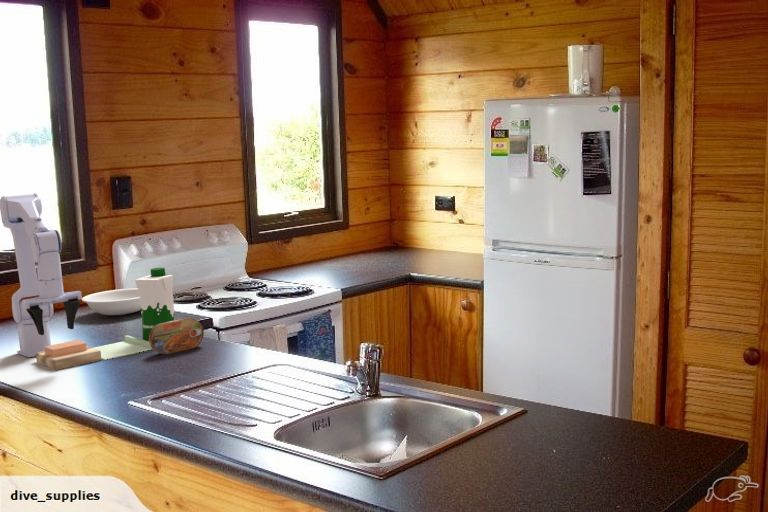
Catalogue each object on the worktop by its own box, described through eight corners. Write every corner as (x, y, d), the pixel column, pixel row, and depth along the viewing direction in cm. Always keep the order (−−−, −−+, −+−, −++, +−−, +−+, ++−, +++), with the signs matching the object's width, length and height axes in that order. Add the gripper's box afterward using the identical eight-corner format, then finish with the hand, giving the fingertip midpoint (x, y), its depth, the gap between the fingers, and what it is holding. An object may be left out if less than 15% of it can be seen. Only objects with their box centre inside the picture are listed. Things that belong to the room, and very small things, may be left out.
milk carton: (181, 335, 264) (175, 267, 262) (163, 342, 256) (156, 272, 253) (156, 334, 268) (150, 267, 265) (137, 341, 259) (130, 272, 257)
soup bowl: (173, 308, 307) (171, 289, 306) (118, 323, 287) (116, 303, 286) (124, 305, 320) (122, 286, 319) (68, 319, 300) (65, 299, 299)
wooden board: (36, 361, 243) (35, 352, 243) (80, 352, 251) (79, 343, 250) (56, 370, 232) (55, 360, 232) (101, 360, 240) (100, 350, 240)
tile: (45, 354, 240) (44, 346, 240) (78, 347, 246) (77, 339, 246) (53, 357, 236) (52, 349, 236) (87, 350, 242) (86, 342, 241)
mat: (80, 351, 252) (79, 345, 252) (127, 341, 261) (127, 335, 261) (105, 360, 240) (104, 353, 239) (153, 349, 249) (153, 342, 248)
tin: (153, 357, 240) (150, 326, 239) (148, 355, 243) (145, 324, 241) (205, 346, 249) (202, 316, 248) (200, 344, 251) (197, 314, 250)
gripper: (27, 285, 222) (33, 339, 224) (84, 275, 232) (90, 328, 234) (16, 282, 227) (23, 335, 229) (73, 273, 237) (78, 324, 239)
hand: (56, 331), depth 232 cm, fingers open, 7 cm apart
